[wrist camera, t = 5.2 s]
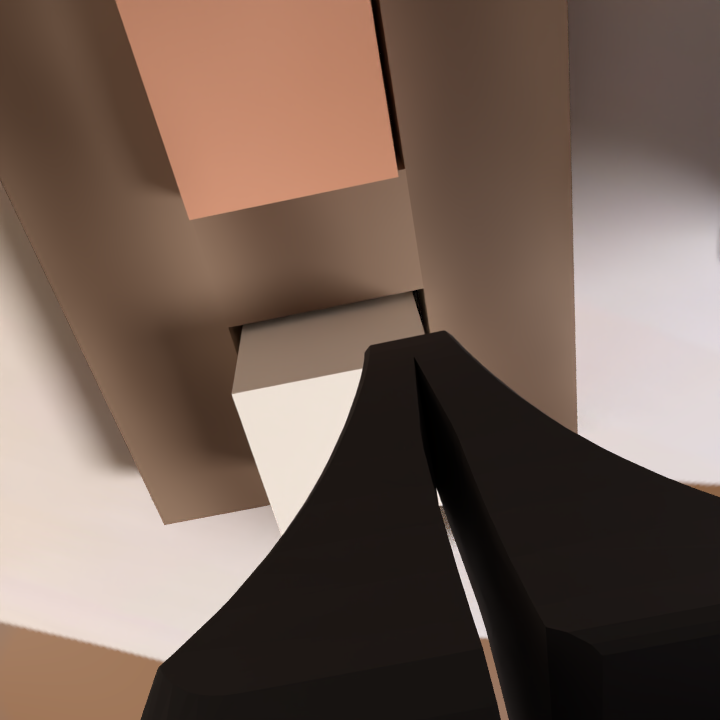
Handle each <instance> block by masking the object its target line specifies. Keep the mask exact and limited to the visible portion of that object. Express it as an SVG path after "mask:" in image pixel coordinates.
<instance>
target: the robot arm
mask: <svg viewBox="0 0 720 720" xmlns="http://www.w3.org/2000/svg"><path fill="white" fill-rule="evenodd" d="M437 491H438V494H439V497H440V499H441V502H442V505H443V508H444V511H445V513H446V516H447V519H448V522H449V525H450V527H451V530H452V533H453V536H454V539H455V541H456V544H457V547H458V550H459V552H460V555H461V558H462V561H463V563H464V566H465V569H466V572H467V575H468V577H469V580H470V583H471V586H472V588H473V591H474V594H475V597H476V600H477V602H478V605H479V609H480V612H481V615H482V618H483V621H484V625H485V628H486V631H487V635H488V639H489V643H490V647H491V651H492V655H493V659H494V662H495V666H496V670H497V674H498V678H499V682H500V686H501V690H502V694H503V698H504V702H505V706H506V710H507V714H508V718H509V720H720V497H718V496H714V495H712V494H709V493H706V492H703V491H700V490H697V489H695V488H692V487H690V486H687V485H684V484H682V483H679V482H677V481H674V480H672V479H669V478H667V477H664V476H662V475H660V474H657V473H655V472H653V471H651V470H648V469H646V468H644V467H642V466H639V465H637V464H635V463H633V462H631V461H628V460H626V459H624V458H622V457H620V456H618V455H616V454H614V453H612V452H610V451H608V450H605V449H604V448H602V447H600V446H598V445H596V444H594V443H592V442H591V441H589V440H587V439H585V438H584V437H582V436H580V435H578V434H576V433H575V432H573V431H571V430H569V429H568V428H566V427H564V426H563V425H561V424H560V423H558V422H557V421H555V420H554V419H552V418H551V417H549V416H548V415H546V414H545V413H543V412H542V411H540V410H539V409H538V408H536V407H535V406H533V405H532V404H530V403H529V402H528V401H526V400H525V399H524V398H522V397H521V396H520V395H518V394H517V393H516V392H515V391H513V390H512V389H511V388H510V387H508V386H507V385H506V384H505V383H503V382H502V381H501V380H500V379H498V378H497V377H496V376H495V375H494V374H492V373H491V372H490V371H489V370H488V369H487V368H485V367H484V366H483V365H482V364H481V363H480V362H479V361H478V360H477V359H476V358H474V357H473V356H472V355H471V354H470V353H469V352H468V351H467V350H466V349H465V348H464V347H463V346H462V345H461V344H460V343H459V342H458V341H457V340H456V339H455V338H454V337H453V336H452V335H451V334H450V333H448V332H447V331H445V330H443V331H438V332H433V333H428V334H423V335H418V336H413V337H408V338H403V339H398V340H393V341H388V342H384V343H379V344H374V345H370V346H369V347H368V349H367V350H366V351H365V353H364V363H363V369H362V373H361V377H360V381H359V384H358V388H357V391H356V395H355V397H354V400H353V403H352V406H351V409H350V411H349V414H348V417H347V420H346V422H345V425H344V427H343V430H342V432H341V434H340V436H339V438H338V441H337V443H336V445H335V447H334V449H333V452H332V454H331V456H330V458H329V460H328V462H327V464H326V466H325V468H324V470H323V472H322V474H321V475H320V477H319V479H318V481H317V483H316V484H315V486H314V488H313V489H312V491H311V493H310V494H309V496H308V498H307V499H306V501H305V503H304V504H303V506H302V507H301V509H300V510H299V512H298V513H297V515H296V516H295V518H294V519H293V521H292V522H291V524H290V525H289V526H288V528H287V529H286V531H285V532H284V534H283V535H282V537H281V538H280V539H279V541H278V542H277V543H276V545H275V546H274V547H273V549H272V550H271V551H270V553H269V554H268V555H267V556H266V558H265V559H264V560H263V561H262V562H261V563H260V565H259V566H258V567H257V568H256V569H255V570H254V572H253V573H252V574H251V575H250V576H249V578H248V579H247V580H246V581H245V582H244V583H243V585H242V586H241V587H240V588H239V589H238V590H237V592H236V593H235V594H234V595H233V596H232V597H231V598H230V599H229V601H228V602H227V603H226V604H225V605H224V606H223V607H222V608H221V609H220V610H219V611H218V612H217V613H216V614H215V615H214V616H213V617H212V618H211V619H210V620H209V621H208V622H206V623H205V624H204V625H203V626H202V627H201V628H200V629H199V630H198V631H197V632H196V633H195V634H194V635H193V636H192V637H191V638H190V639H189V640H188V641H187V642H185V643H184V644H183V645H182V646H181V647H180V648H179V649H178V650H177V651H176V652H175V653H174V654H173V655H172V656H171V657H169V658H168V659H167V660H166V661H165V662H164V663H163V664H162V665H161V666H159V668H158V670H157V673H156V675H155V678H154V681H153V684H152V687H151V690H150V693H149V696H148V699H147V702H146V705H145V708H144V711H143V714H142V717H141V720H501V718H500V715H499V710H498V705H497V701H496V697H495V694H494V689H493V686H492V682H491V678H490V674H489V670H488V667H487V662H486V659H485V655H484V651H483V647H482V645H481V641H480V638H479V635H478V632H477V629H476V626H475V623H474V620H473V617H472V614H471V611H470V607H469V604H468V601H467V598H466V595H465V591H464V588H463V585H462V582H461V579H460V575H459V572H458V569H457V566H456V562H455V559H454V556H453V552H452V549H451V545H450V542H449V539H448V535H447V532H446V528H445V525H444V522H443V518H442V514H441V511H440V507H439V503H438V495H437Z"/></svg>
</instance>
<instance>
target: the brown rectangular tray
mask: <svg viewBox="0 0 720 720" xmlns="http://www.w3.org/2000/svg"><path fill="white" fill-rule="evenodd" d="M372 6H373V13H374V19H375V25H376V31H377V38H378V44H379V50H380V57H381V63H382V69H383V75H384V82H385V88H386V94H387V101H388V107H389V113H390V120H391V126H392V132H393V138H394V144H393V145H394V152H395V158H396V164H397V170H398V177H396V178H391V179H386V180H381V181H377V182H372V183H367V184H362V185H357V186H352V187H348V188H343V189H338V190H333V191H328V192H323V193H319V194H314V195H309V196H304V197H299V198H294V199H290V200H285V201H280V202H275V203H270V204H265V205H261V206H256V207H251V208H246V209H241V210H236V211H232V212H227V213H222V214H217V215H212V216H207V217H203V218H198V219H193V220H189V218H188V215H187V212H186V209H185V206H184V203H183V200H182V197H181V194H180V191H179V188H178V185H177V182H176V179H175V176H174V173H173V170H172V167H171V164H170V161H169V158H168V155H167V152H166V149H165V146H164V143H163V140H162V137H161V134H160V131H159V129H158V126H157V123H156V120H155V117H154V114H153V111H152V108H151V105H150V102H149V99H148V96H147V93H146V90H145V87H144V84H143V81H142V78H141V75H140V72H139V69H138V66H137V63H136V60H135V57H134V54H133V51H132V48H131V45H130V42H129V39H128V36H127V33H126V30H125V27H124V25H123V22H122V19H121V16H120V13H119V10H118V7H117V4H116V1H115V0H0V180H1V182H2V184H3V186H4V188H5V191H6V193H7V195H8V197H9V199H10V201H11V203H12V205H13V207H14V209H15V212H16V214H17V216H18V218H19V220H20V222H21V224H22V226H23V228H24V230H25V233H26V235H27V237H28V239H29V241H30V243H31V245H32V247H33V249H34V252H35V254H36V256H37V258H38V260H39V262H40V264H41V266H42V268H43V270H44V273H45V275H46V277H47V279H48V281H49V283H50V285H51V287H52V289H53V291H54V294H55V296H56V298H57V300H58V302H59V304H60V306H61V308H62V310H63V313H64V315H65V317H66V319H67V321H68V323H69V325H70V327H71V329H72V331H73V334H74V336H75V338H76V340H77V342H78V344H79V346H80V348H81V350H82V352H83V355H84V357H85V359H86V361H87V363H88V365H89V367H90V369H91V371H92V374H93V376H94V378H95V380H96V382H97V384H98V386H99V388H100V390H101V392H102V395H103V397H104V399H105V401H106V403H107V405H108V407H109V409H110V411H111V413H112V416H113V418H114V420H115V422H116V424H117V426H118V428H119V430H120V432H121V435H122V437H123V439H124V441H125V443H126V445H127V447H128V449H129V451H130V453H131V456H132V458H133V460H134V462H135V464H136V466H137V468H138V470H139V472H140V474H141V477H142V479H143V481H144V483H145V485H146V487H147V489H148V491H149V493H150V496H151V498H152V500H153V502H154V504H155V506H156V508H157V510H158V512H159V514H160V517H161V519H162V521H163V523H164V525H167V524H172V523H177V522H183V521H188V520H193V519H199V518H204V517H209V516H214V515H220V514H225V513H230V512H236V511H241V510H246V509H251V508H257V507H262V506H267V505H270V502H269V499H268V496H267V493H266V490H265V488H264V485H263V482H262V479H261V476H260V473H259V471H258V468H257V465H256V462H255V459H254V456H253V454H252V451H251V448H250V445H249V442H248V439H247V436H246V434H245V431H244V428H243V425H242V422H241V419H240V417H239V414H238V411H237V408H236V405H235V402H234V400H233V397H232V389H233V383H234V377H235V370H236V364H237V358H238V352H239V346H240V340H241V334H242V328H243V325H244V324H249V323H254V322H259V321H264V320H269V319H274V318H279V317H284V316H289V315H294V314H299V313H304V312H309V311H313V310H318V309H323V308H328V307H333V306H338V305H343V304H348V303H353V302H358V301H363V300H368V299H373V298H378V297H383V296H388V295H393V294H398V293H403V292H408V291H413V290H418V296H419V302H420V308H421V315H422V321H423V327H424V333H425V334H428V333H433V332H438V331H443V330H445V331H447V332H448V333H450V334H451V335H452V336H453V337H454V338H455V339H456V340H457V341H458V342H459V343H460V344H461V345H462V346H463V347H464V348H465V349H466V350H467V351H468V352H469V353H470V354H471V355H472V356H473V357H474V358H476V359H477V360H478V361H479V362H480V363H481V364H482V365H483V366H484V367H485V368H487V369H488V370H489V371H490V372H491V373H492V374H494V375H495V376H496V377H497V378H498V379H500V380H501V381H502V382H503V383H505V384H506V385H507V386H508V387H510V388H511V389H512V390H513V391H515V392H516V393H517V394H518V395H520V396H521V397H522V398H524V399H525V400H526V401H528V402H529V403H530V404H532V405H533V406H535V407H536V408H538V409H539V410H540V411H542V412H543V413H545V414H546V415H548V416H549V417H551V418H552V419H554V420H555V421H557V422H558V423H560V424H561V425H563V426H564V427H566V428H568V429H569V430H571V431H573V432H575V433H576V434H577V392H576V348H575V305H574V261H573V218H572V175H571V131H570V88H569V44H568V1H567V0H372Z"/></svg>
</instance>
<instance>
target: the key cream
mask: <svg viewBox="0 0 720 720" xmlns="http://www.w3.org/2000/svg"><path fill="white" fill-rule="evenodd" d="M423 334H425V333H424V329H423V326H422V323H421V319H420V316H419V313H418V310H417V306H416V303H415V300H414V296H413V293H412V291H408V292H403V293H398V294H393V295H388V296H383V297H378V298H373V299H368V300H363V301H358V302H353V303H348V304H343V305H338V306H333V307H328V308H323V309H318V310H313V311H309V312H304V313H299V314H294V315H289V316H284V317H279V318H274V319H269V320H264V321H259V322H254V323H249V324H244V325H243V328H242V334H241V340H240V346H239V352H238V358H237V364H236V370H235V377H234V383H233V389H232V397H233V400H234V402H235V405H236V408H237V411H238V414H239V417H240V419H241V422H242V425H243V428H244V431H245V434H246V436H247V439H248V442H249V445H250V448H251V451H252V454H253V456H254V459H255V462H256V465H257V468H258V471H259V473H260V476H261V479H262V482H263V485H264V488H265V490H266V493H267V496H268V499H269V502H270V505H271V507H272V510H273V513H274V516H275V519H276V522H277V525H278V527H279V530H280V533H281V535H283V534H284V532H285V531H286V529H287V528H288V526H289V525H290V524H291V522H292V521H293V519H294V518H295V516H296V515H297V513H298V512H299V510H300V509H301V507H302V506H303V504H304V503H305V501H306V499H307V498H308V496H309V494H310V493H311V491H312V489H313V488H314V486H315V484H316V483H317V481H318V479H319V477H320V475H321V474H322V472H323V470H324V468H325V466H326V464H327V462H328V460H329V458H330V456H331V454H332V452H333V449H334V447H335V445H336V443H337V441H338V438H339V436H340V434H341V432H342V430H343V427H344V425H345V422H346V420H347V417H348V414H349V411H350V409H351V406H352V403H353V400H354V397H355V395H356V391H357V388H358V384H359V381H360V377H361V373H362V369H363V363H364V353H365V351H366V350H367V349H368V347H369V346H370V345H374V344H379V343H384V342H388V341H393V340H398V339H403V338H408V337H413V336H418V335H423ZM437 495H438V503H439V506H442V502H441V499H440V497H439V494H438V491H437Z"/></svg>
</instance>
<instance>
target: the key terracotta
mask: <svg viewBox="0 0 720 720" xmlns="http://www.w3.org/2000/svg"><path fill="white" fill-rule="evenodd" d="M115 1H116V4H117V7H118V10H119V13H120V16H121V19H122V22H123V25H124V27H125V30H126V33H127V36H128V39H129V42H130V45H131V48H132V51H133V54H134V57H135V60H136V63H137V66H138V69H139V72H140V75H141V78H142V81H143V84H144V87H145V90H146V93H147V96H148V99H149V102H150V105H151V108H152V111H153V114H154V117H155V120H156V123H157V126H158V129H159V131H160V134H161V137H162V140H163V143H164V146H165V149H166V152H167V155H168V158H169V161H170V164H171V167H172V170H173V173H174V176H175V179H176V182H177V185H178V188H179V191H180V194H181V197H182V200H183V203H184V206H185V209H186V212H187V215H188V218H189V220H193V219H198V218H203V217H207V216H212V215H217V214H222V213H227V212H232V211H236V210H241V209H246V208H251V207H256V206H261V205H265V204H270V203H275V202H280V201H285V200H290V199H294V198H299V197H304V196H309V195H314V194H319V193H323V192H328V191H333V190H338V189H343V188H348V187H352V186H357V185H362V184H367V183H372V182H377V181H381V180H386V179H391V178H396V177H398V170H397V164H396V158H395V152H394V145H393V139H392V133H391V127H390V120H389V114H388V108H387V102H386V95H385V89H384V83H383V77H382V70H381V64H380V58H379V52H378V45H377V39H376V33H375V26H374V20H373V14H372V8H371V1H370V0H115Z"/></svg>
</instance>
